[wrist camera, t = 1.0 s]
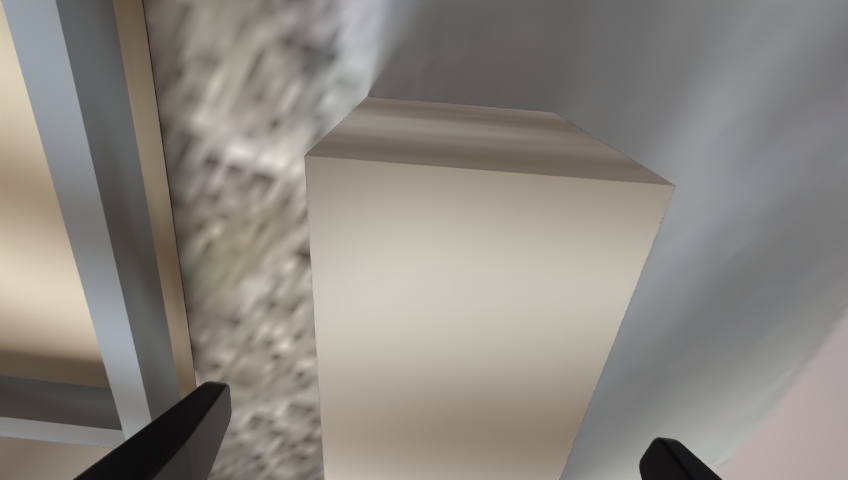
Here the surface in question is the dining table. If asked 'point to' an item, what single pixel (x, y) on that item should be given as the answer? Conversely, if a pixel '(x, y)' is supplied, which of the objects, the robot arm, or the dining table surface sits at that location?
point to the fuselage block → (467, 286)
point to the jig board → (85, 228)
